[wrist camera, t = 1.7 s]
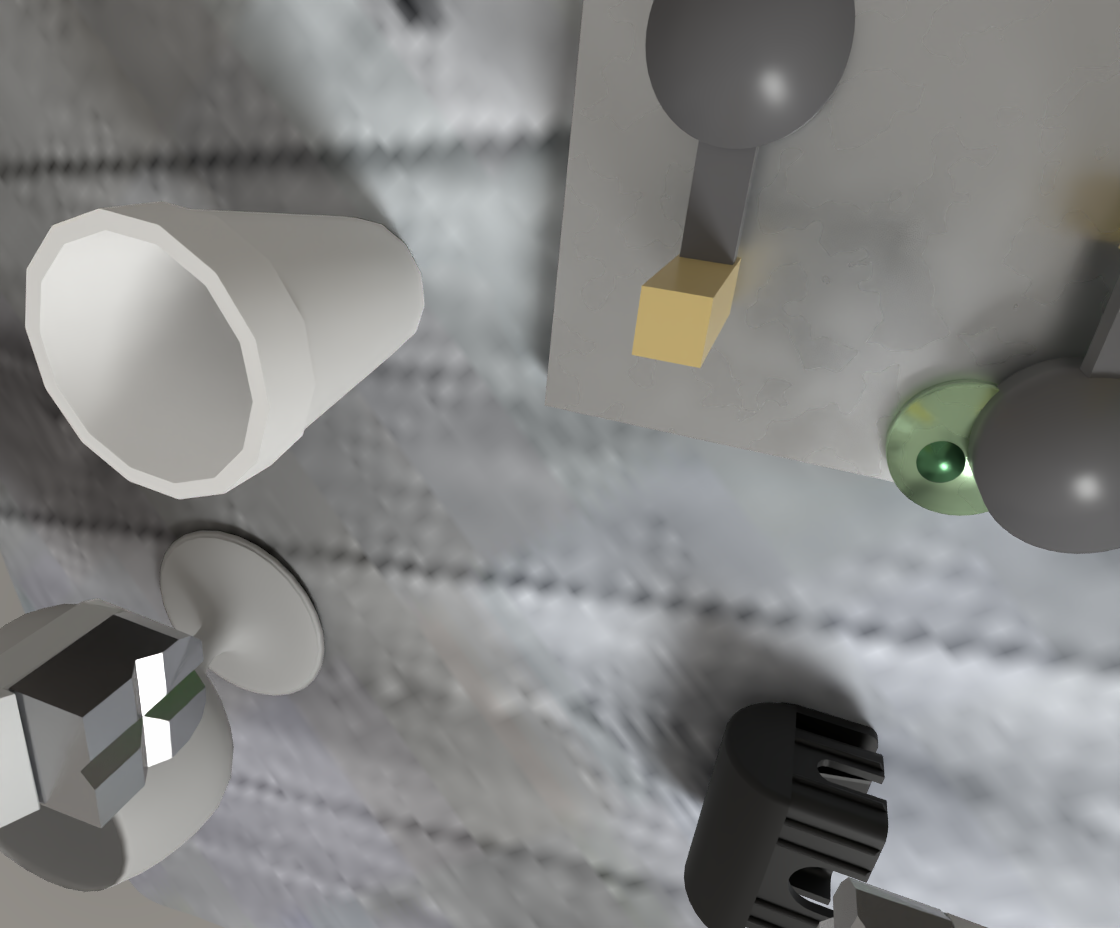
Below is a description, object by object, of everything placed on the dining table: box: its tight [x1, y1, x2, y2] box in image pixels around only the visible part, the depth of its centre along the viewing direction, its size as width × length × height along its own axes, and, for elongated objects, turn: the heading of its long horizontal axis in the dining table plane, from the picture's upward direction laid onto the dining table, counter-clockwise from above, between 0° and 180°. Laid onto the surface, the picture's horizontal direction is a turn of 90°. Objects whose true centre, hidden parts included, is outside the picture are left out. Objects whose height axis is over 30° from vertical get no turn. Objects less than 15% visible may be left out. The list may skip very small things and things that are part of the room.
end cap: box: [684, 702, 888, 928], centre depth 36 cm, size 10×7×7 cm
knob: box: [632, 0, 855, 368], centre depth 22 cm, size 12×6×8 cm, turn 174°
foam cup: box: [25, 201, 425, 499], centre depth 29 cm, size 10×9×13 cm
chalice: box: [0, 530, 325, 892], centre depth 40 cm, size 14×14×15 cm
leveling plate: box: [545, 0, 1120, 516], centre depth 26 cm, size 22×20×3 cm
